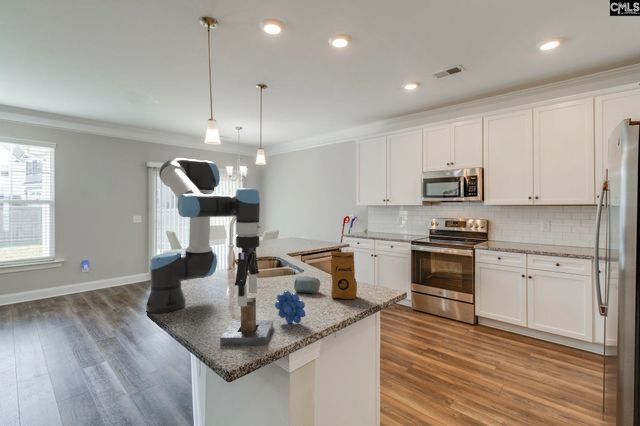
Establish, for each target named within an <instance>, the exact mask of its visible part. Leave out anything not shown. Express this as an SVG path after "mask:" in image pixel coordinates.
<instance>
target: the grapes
mask: <svg viewBox="0 0 640 426" xmlns="http://www.w3.org/2000/svg"><path fill="white" fill-rule="evenodd" d="M274 307H275V309H277V310H278V311H277V312H278V316H279V317H280V318H281V319H285V322H286V323H288V324H293V323H296V324H300V323H301V321H302V318H305V317H306V311H305V310H304V308H305V307H306V305H305V302H304V301H303V300H301V299H300V296H299V294H298V293H295V292H293V293H291V292H290V291H289V290H285V291H284V292H283V293H279V294H277V295H276V301H275V302H274Z"/></svg>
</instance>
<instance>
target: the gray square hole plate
mask: <svg viewBox="0 0 640 426" xmlns="http://www.w3.org/2000/svg"><path fill="white" fill-rule="evenodd" d="M273 328H274V320H272V319H269V320H268V319H267V320H265V319H264V320H263V319H261V320H260V319H259V320H257V319H256V332H241V319H240V320H237V319H235V320H233V321H232V322H231V324H229V326H228V327H227V328H226V330H225V331H224V332H223V334H222V335H221V336H220V337H219V338H220V342H219V343H220V347H221V346H222V347H223V346H225V347H227V346H228V347H229V346H230V347H231V346H233V347H235V346H237V347H238V346H240V347H241V346H244V347H245V346H246V347H247V346H252V345H254V346H255V347H257V346H258V345H259V347H260V345H261V346H262V345H267V343H268V341H269V338H270V336H271V333H272V331H273Z"/></svg>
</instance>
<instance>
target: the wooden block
mask: <svg viewBox="0 0 640 426" xmlns="http://www.w3.org/2000/svg"><path fill="white" fill-rule="evenodd" d="M256 302H257V301H256V297H252V298H251V297H247V306H240V320H241V332H256V320H257V305H256V304H257V303H256Z"/></svg>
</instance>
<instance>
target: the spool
mask: <svg viewBox="0 0 640 426" xmlns="http://www.w3.org/2000/svg"><path fill="white" fill-rule="evenodd" d="M320 288H321V281H320V279H319V278H317V277H315V276H307V275H303V276H297V277H296V278H295V280H294V283H293V289H294V291H295V292H297V293H306V294H307V293H308V294H314V295H315V294H318V293H319V291H320Z"/></svg>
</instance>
